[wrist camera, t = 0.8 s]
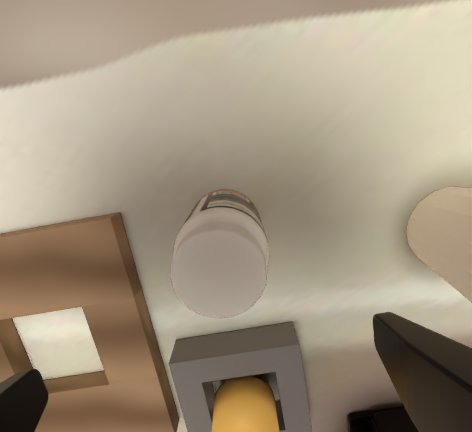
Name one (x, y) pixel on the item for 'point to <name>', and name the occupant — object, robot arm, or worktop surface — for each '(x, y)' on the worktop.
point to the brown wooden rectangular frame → (99, 320)
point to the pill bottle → (220, 256)
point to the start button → (244, 406)
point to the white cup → (445, 235)
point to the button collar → (240, 372)
